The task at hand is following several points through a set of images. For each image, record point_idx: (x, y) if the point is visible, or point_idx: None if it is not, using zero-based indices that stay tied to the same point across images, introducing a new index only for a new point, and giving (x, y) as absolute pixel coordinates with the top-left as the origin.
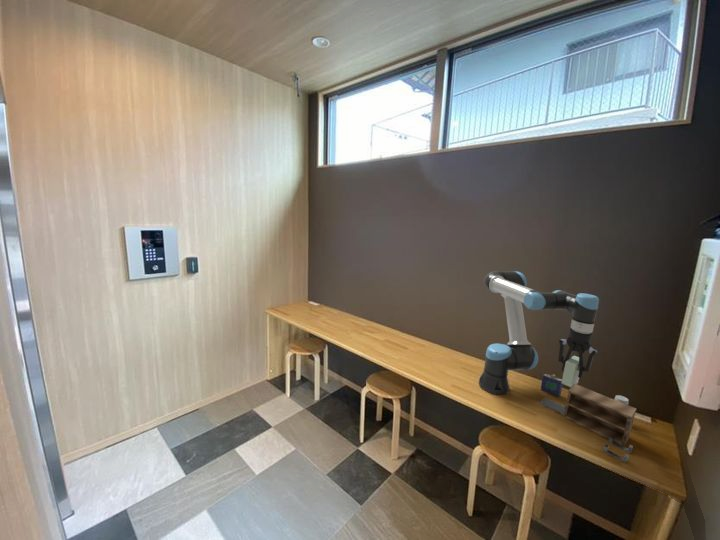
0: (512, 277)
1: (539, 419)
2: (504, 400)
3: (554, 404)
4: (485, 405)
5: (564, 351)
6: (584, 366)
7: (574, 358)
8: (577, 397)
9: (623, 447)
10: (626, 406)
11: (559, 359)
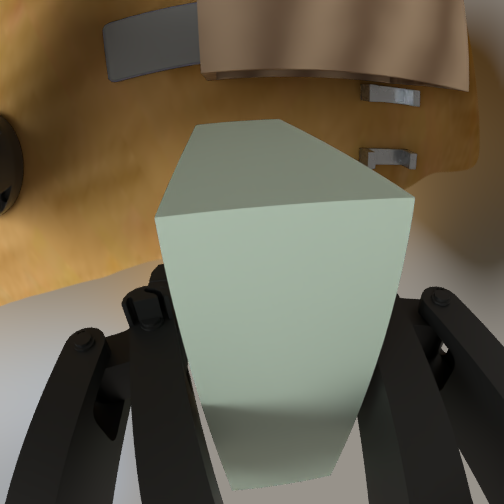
0: None
1: (165, 184)
2: (45, 200)
3: (149, 35)
4: (51, 280)
5: (63, 480)
6: (407, 316)
7: (255, 373)
8: None
9: (394, 94)
10: (441, 7)
11: (104, 405)
